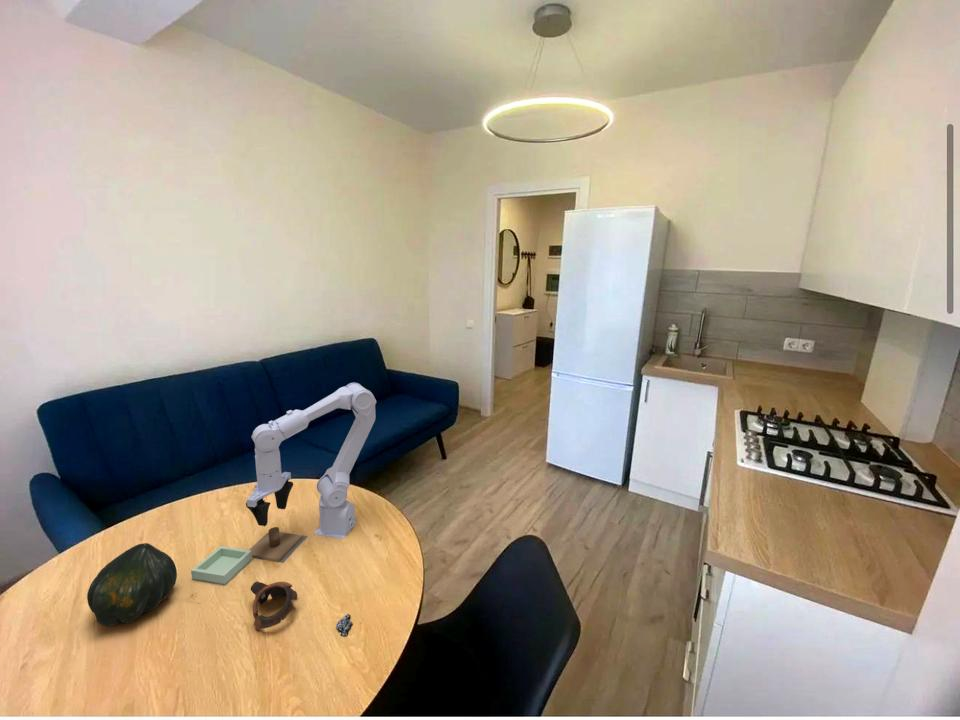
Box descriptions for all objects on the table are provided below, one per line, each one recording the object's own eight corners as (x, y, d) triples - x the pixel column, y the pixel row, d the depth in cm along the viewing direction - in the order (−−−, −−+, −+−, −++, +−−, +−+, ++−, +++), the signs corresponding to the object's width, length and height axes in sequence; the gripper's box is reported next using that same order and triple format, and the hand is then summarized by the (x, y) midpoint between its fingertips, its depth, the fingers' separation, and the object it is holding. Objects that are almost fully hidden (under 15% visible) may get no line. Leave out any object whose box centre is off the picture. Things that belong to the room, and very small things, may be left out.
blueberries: (362, 611, 89) (362, 603, 89) (365, 638, 82) (364, 630, 81) (330, 619, 87) (330, 611, 86) (330, 648, 79) (330, 640, 79)
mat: (308, 537, 112) (308, 536, 112) (283, 564, 101) (283, 562, 101) (270, 531, 114) (270, 530, 114) (241, 557, 103) (241, 556, 103)
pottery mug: (310, 600, 91) (304, 588, 86) (280, 645, 84) (270, 634, 79) (269, 576, 94) (260, 563, 88) (236, 618, 87) (225, 606, 82)
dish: (252, 560, 102) (251, 550, 102) (225, 586, 93) (224, 575, 93) (222, 555, 103) (220, 545, 103) (192, 581, 95) (190, 570, 94)
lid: (302, 537, 111) (301, 521, 110) (279, 562, 101) (278, 544, 100) (270, 533, 113) (269, 517, 112) (245, 556, 103) (243, 539, 102)
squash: (51, 622, 77) (106, 562, 77) (101, 570, 91) (147, 520, 92) (123, 651, 81) (174, 594, 82) (160, 598, 95) (203, 550, 96)
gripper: (273, 456, 110) (276, 500, 113) (233, 481, 96) (238, 531, 99) (296, 458, 109) (299, 502, 112) (259, 485, 95) (264, 534, 98)
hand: (272, 516), depth 105 cm, fingers open, 7 cm apart
